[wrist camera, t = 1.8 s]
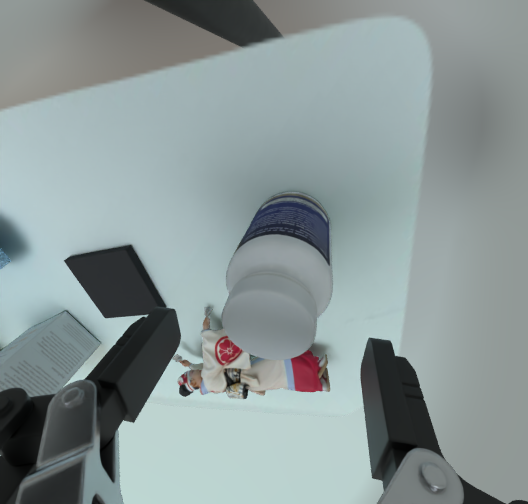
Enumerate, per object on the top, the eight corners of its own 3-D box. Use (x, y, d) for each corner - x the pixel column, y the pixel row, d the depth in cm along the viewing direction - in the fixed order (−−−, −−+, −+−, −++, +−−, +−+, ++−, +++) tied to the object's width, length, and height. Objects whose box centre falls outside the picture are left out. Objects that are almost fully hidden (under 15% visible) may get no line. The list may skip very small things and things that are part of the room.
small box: (64, 357, 35) (-25, 449, 26) (29, 326, 33) (-82, 415, 24) (103, 343, 31) (16, 443, 23) (66, 308, 29) (-46, 404, 21)
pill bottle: (245, 199, 19) (183, 283, 11) (323, 181, 17) (320, 266, 9) (266, 263, 21) (229, 372, 13) (336, 253, 20) (343, 371, 12)
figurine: (323, 301, 23) (157, 309, 25) (332, 408, 21) (153, 407, 23) (319, 302, 29) (185, 309, 31) (326, 386, 27) (183, 387, 29)
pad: (70, 256, 25) (63, 260, 25) (131, 244, 23) (125, 249, 22) (110, 313, 28) (104, 318, 28) (166, 307, 26) (162, 313, 26)
